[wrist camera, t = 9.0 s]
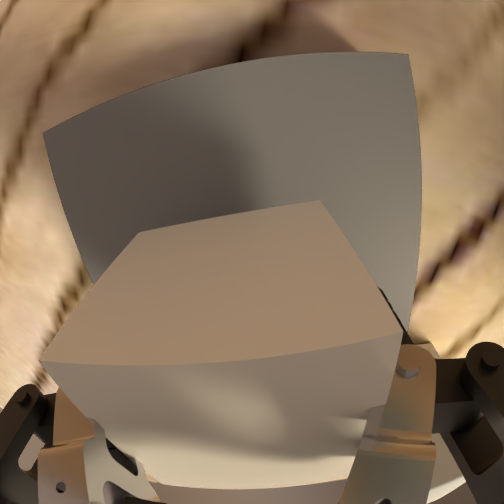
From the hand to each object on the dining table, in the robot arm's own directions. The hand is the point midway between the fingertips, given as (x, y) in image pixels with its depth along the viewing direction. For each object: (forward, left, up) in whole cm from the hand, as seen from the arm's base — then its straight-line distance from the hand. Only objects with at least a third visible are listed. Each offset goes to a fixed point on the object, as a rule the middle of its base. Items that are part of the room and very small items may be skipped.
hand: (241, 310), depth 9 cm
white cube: (0, 0, -1) cm, 1 cm away
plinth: (0, 0, -7) cm, 7 cm away
